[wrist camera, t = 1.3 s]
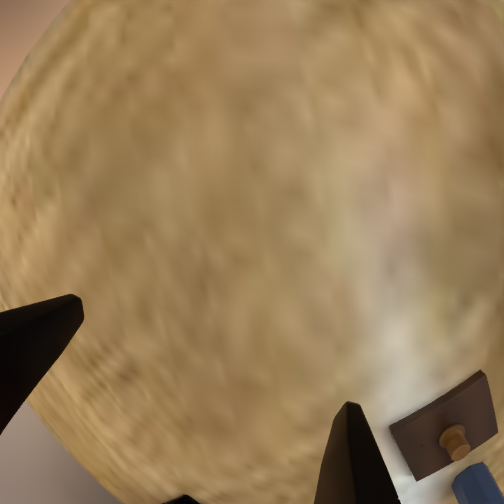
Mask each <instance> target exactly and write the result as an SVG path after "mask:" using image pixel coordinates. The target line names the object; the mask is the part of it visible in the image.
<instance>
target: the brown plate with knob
mask: <svg viewBox="0 0 504 504" xmlns="http://www.w3.org/2000/svg"><path fill="white" fill-rule="evenodd" d="M390 430H391V433H392V435H393V437H394V439H395V441H396V443H397V445H398V447H399V449H400V451H401V452H402V454H403V456H404V458H405V460H406V462H407V464H408V466H409V468H410V470H411V472H412V474H413V476H414V478H415V480H416V482H417V481H419V480H421V479H423V478H425V477H427V476H429V475H431V474H433V473H435V472H437V471H438V470H440V469H442V468H444V467H446V466H447V465H449V464H451V463H453V462H454V461H458V460H461V459H462V458H464V457H465V456H466V455H467V454H468V453H469V452H471V451H472V450H474V449H475V448H477V447H478V446H480V445H481V444H483V443H484V442H486V441H487V440H488V439H490V438H491V437H493V436H494V435H496V434H497V433H498V428H497V423H496V417H495V412H494V407H493V402H492V398H491V394H490V389H489V385H488V381H487V377H486V375H485V374H484V373H483V372H482V371H481V370H480V371H478V372H477V373H476V374H474V375H473V376H471V377H470V378H469V379H467V380H466V381H464V382H463V383H461V384H460V385H459V386H457V387H456V388H454V389H453V390H451V391H449V392H448V393H446V394H445V395H443V396H442V397H440V398H438V399H437V400H435V401H434V402H432V403H430V404H429V405H427V406H425V407H424V408H422V409H420V410H418V411H417V412H415V413H413V414H411V415H409V416H408V417H406V418H404V419H402V420H400V421H398V422H396V423H394V424H393V425H391V426H390Z"/></svg>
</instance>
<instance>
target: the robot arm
mask: <svg viewBox="0 0 504 504" xmlns="http://www.w3.org/2000/svg"><path fill="white" fill-rule="evenodd" d="M83 320H84V311H83V305H82V300H81V298H79V297H77V296H76V295H74V294H68V295H64V296H60V297H57V298H53V299H49V300H45V301H41V302H38V303H34V304H30V305H26V306H22V307H19V308H15V309H11V310H7V311H4V312H0V435H1V433H2V432H3V430H4V429H5V427H6V426H7V424H8V423H9V421H10V420H11V419H12V417H13V416H14V415H15V413H16V412H17V411H18V409H19V408H20V406H21V405H22V403H23V402H24V401H25V400H26V398H27V397H28V396H29V394H30V393H31V392H32V391H33V389H34V388H35V387H36V385H37V384H38V383H39V381H40V380H41V379H42V378H43V376H44V375H45V374H46V373H47V371H48V370H49V369H50V368H51V366H52V365H53V364H54V363H55V361H56V360H57V359H58V358H59V356H60V355H61V354H62V352H63V351H64V349H65V348H66V346H67V345H68V343H69V342H70V340H71V339H72V337H73V336H74V334H75V333H76V331H77V330H78V329H79V327H80V326H81V324H82V323H83ZM163 504H199V503H198V502H196V501H195V500H194V499H192V498H191V497H189V496H187V495H183V496H181V497H178V498H176V499H173V500H171V501H168V502H166V503H163ZM314 504H401V502H400V500H399V499H398V495H397V492H396V490H395V487H394V485H393V482H392V480H391V477H390V475H389V472H388V470H387V467H386V465H385V462H384V460H383V458H382V455H381V453H380V450H379V448H378V446H377V443H376V441H375V438H374V436H373V434H372V431H371V429H370V427H369V424H368V422H367V420H366V417H365V415H364V413H363V410H362V408H361V406H360V405H359V404H358V403H354V402H350V401H347V402H345V404H344V405H343V406H342V408H341V409H340V410H339V412H338V413H337V415H336V416H335V418H334V421H333V424H332V428H331V431H330V435H329V439H328V443H327V446H326V450H325V453H324V457H323V460H322V464H321V469H320V474H319V480H318V485H317V491H316V496H315V501H314Z"/></svg>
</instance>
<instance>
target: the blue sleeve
mask: <svg viewBox="0 0 504 504" xmlns="http://www.w3.org/2000/svg"><path fill="white" fill-rule="evenodd" d="M452 488H453V491H454V493H455V496H456V498H457V501H458V503H459V504H504V496H503V494H502V492H501V491H500V489H499V487H498V485H497V483H496V481H495V480H494V478H493V476H492V474H491V472H490V471H489V469H488V467H487V466H486V465H485V464H484V463H483V462H482V463H479V464H475V465H472V466H469V467H468V468H467V469H466V470H464V471H463V472H462V473H460V474H459V475H458V476H457V477H456V479H455V481H454V483H453V485H452Z"/></svg>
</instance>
